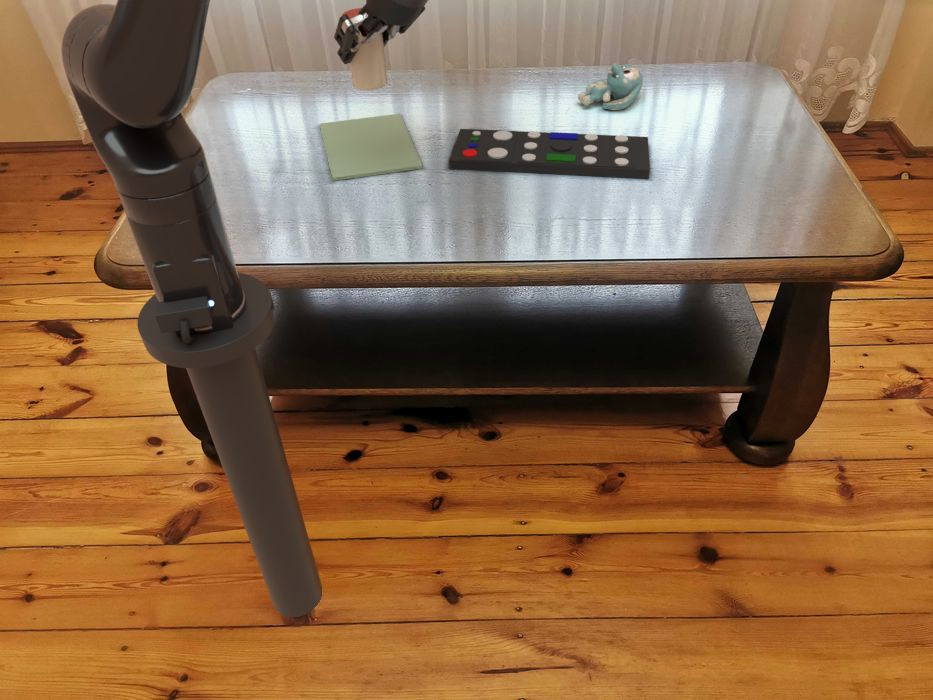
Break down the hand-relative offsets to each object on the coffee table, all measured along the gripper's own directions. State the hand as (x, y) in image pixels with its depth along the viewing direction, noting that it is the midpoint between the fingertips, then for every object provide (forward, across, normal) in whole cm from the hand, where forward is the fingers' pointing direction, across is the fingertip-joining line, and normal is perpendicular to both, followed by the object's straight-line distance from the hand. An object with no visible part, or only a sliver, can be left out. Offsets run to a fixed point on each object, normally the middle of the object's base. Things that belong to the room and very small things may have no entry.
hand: (358, 52), depth 111 cm
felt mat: (+12, -1, +10) cm, 16 cm away
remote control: (-4, -18, +27) cm, 33 cm away
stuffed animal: (0, -41, +23) cm, 47 cm away
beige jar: (+2, 0, +4) cm, 5 cm away
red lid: (-5, 0, -2) cm, 6 cm away
